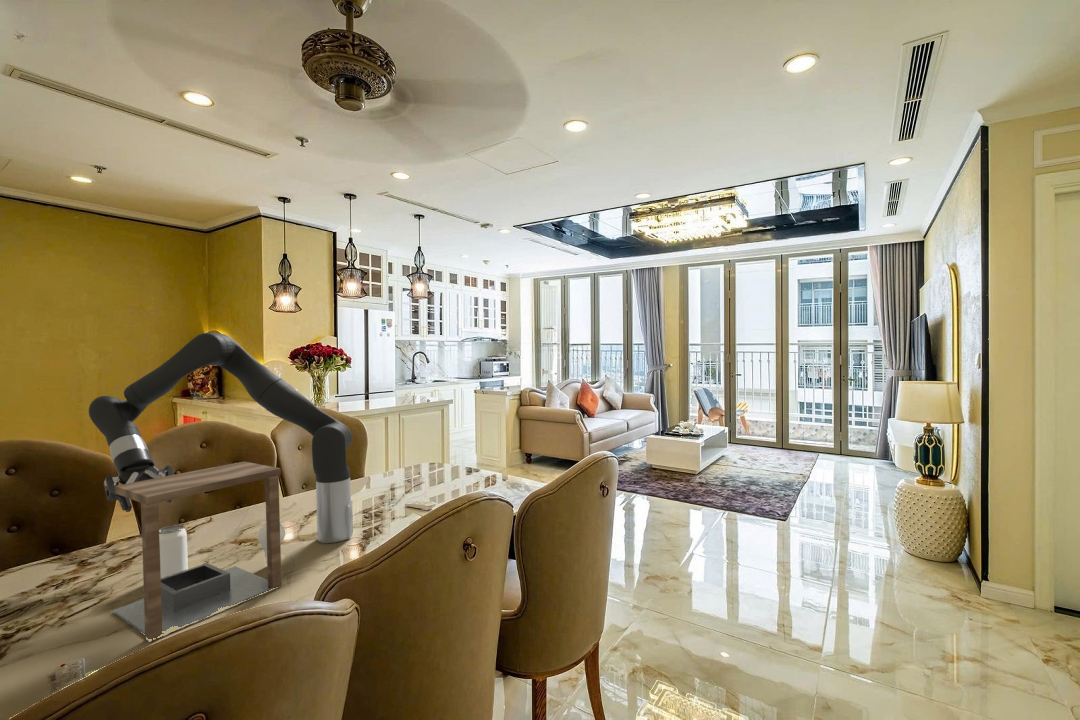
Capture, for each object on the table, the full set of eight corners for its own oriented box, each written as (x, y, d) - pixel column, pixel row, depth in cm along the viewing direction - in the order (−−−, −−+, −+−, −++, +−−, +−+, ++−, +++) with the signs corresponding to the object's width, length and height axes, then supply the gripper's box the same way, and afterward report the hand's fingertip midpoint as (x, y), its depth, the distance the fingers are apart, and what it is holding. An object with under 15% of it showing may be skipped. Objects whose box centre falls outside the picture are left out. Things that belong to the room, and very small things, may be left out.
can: (169, 585, 113) (168, 534, 113) (147, 583, 114) (145, 533, 114) (194, 573, 119) (193, 524, 119) (173, 571, 120) (171, 523, 120)
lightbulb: (291, 562, 124) (290, 519, 124) (271, 572, 119) (270, 528, 119) (273, 559, 126) (272, 517, 126) (252, 569, 121) (251, 525, 120)
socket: (113, 612, 101) (112, 594, 101) (235, 568, 121) (234, 552, 121) (152, 641, 90) (152, 620, 90) (279, 587, 111) (278, 570, 111)
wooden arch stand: (119, 620, 98) (114, 486, 98) (247, 572, 119) (244, 461, 119) (151, 644, 89) (147, 496, 89) (284, 587, 111) (280, 468, 110)
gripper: (99, 452, 121) (118, 504, 115) (166, 442, 133) (187, 489, 127) (92, 470, 124) (110, 522, 118) (159, 459, 136) (178, 506, 130)
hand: (150, 505), depth 122 cm, fingers open, 8 cm apart
